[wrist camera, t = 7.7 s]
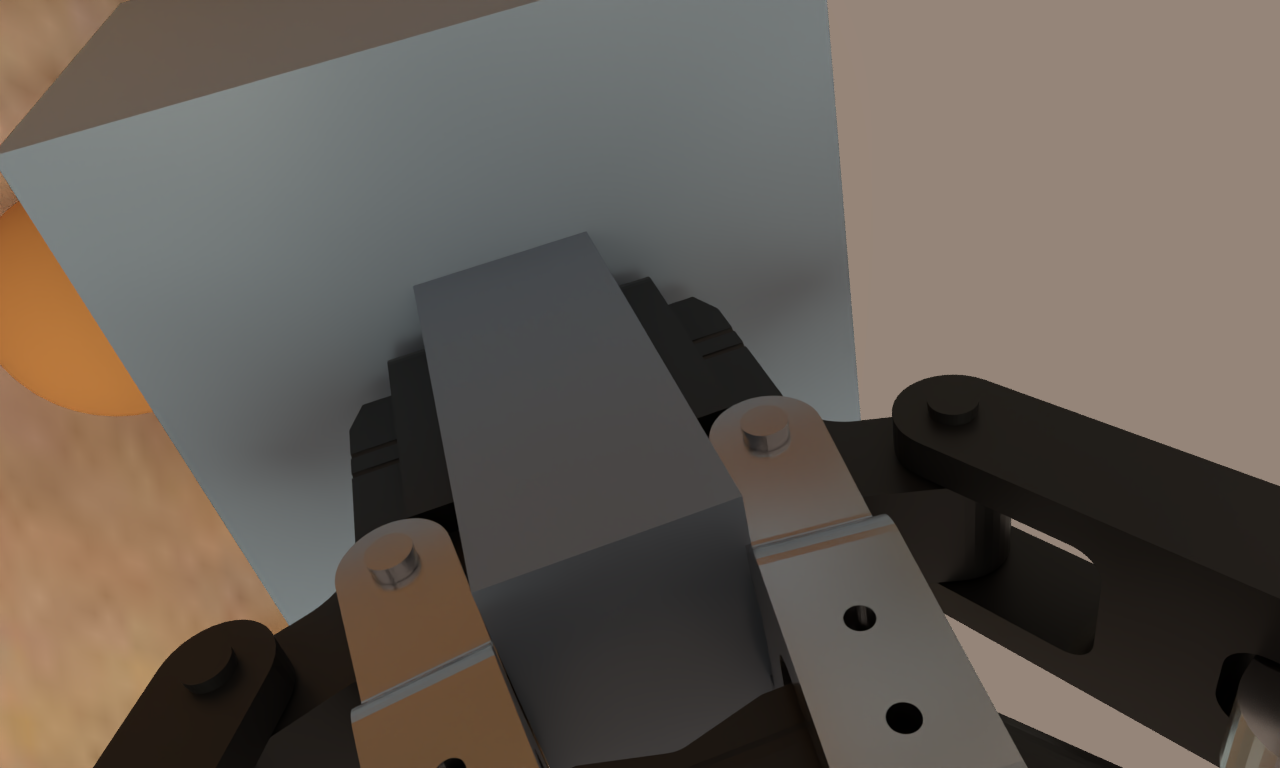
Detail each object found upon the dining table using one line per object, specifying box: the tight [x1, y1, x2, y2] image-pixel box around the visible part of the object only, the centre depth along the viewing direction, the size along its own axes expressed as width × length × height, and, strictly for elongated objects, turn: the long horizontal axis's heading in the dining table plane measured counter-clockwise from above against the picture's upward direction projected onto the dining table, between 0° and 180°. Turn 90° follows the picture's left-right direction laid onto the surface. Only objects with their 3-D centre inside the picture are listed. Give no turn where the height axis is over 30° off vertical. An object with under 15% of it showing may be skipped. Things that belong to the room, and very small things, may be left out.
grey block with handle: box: [0, 0, 861, 768], centre depth 15 cm, size 10×10×15 cm
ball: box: [0, 201, 153, 416], centre depth 20 cm, size 5×5×5 cm
